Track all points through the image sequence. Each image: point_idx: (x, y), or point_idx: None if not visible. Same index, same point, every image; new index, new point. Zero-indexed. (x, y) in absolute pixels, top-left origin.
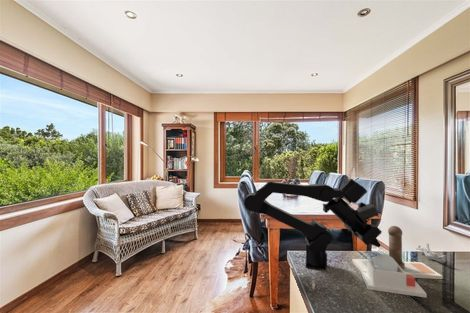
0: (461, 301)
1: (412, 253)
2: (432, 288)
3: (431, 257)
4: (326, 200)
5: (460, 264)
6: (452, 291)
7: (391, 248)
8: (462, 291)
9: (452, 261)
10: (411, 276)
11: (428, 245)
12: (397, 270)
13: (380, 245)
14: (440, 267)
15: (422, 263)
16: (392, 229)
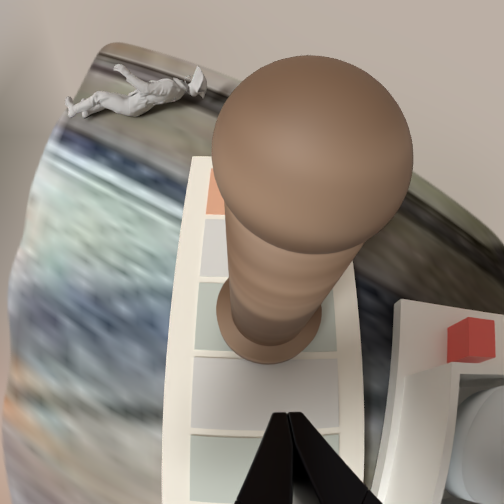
0: (477, 225)
1: (71, 143)
2: (429, 258)
3: (148, 105)
4: None
5: (187, 68)
6: (425, 205)
7: (309, 312)
8: (412, 176)
9: (162, 74)
10: (478, 325)
11: (127, 69)
12: (475, 379)
13: (301, 414)
14: (213, 119)
15: (204, 159)
16: (397, 172)
